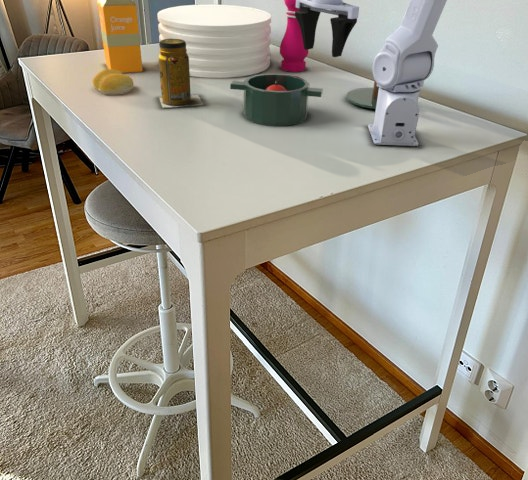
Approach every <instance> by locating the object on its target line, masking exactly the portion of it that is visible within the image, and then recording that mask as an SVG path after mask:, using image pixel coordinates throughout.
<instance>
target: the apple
mask: <svg viewBox="0 0 528 480" xmlns="http://www.w3.org/2000/svg"><path fill="white" fill-rule="evenodd" d="M277 84H278V81H276V83H275V85H271V86H269V87H268V88H266V90H270V91H287V90H286V89H285V88H284V87H283V86H281V85H277Z"/></svg>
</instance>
